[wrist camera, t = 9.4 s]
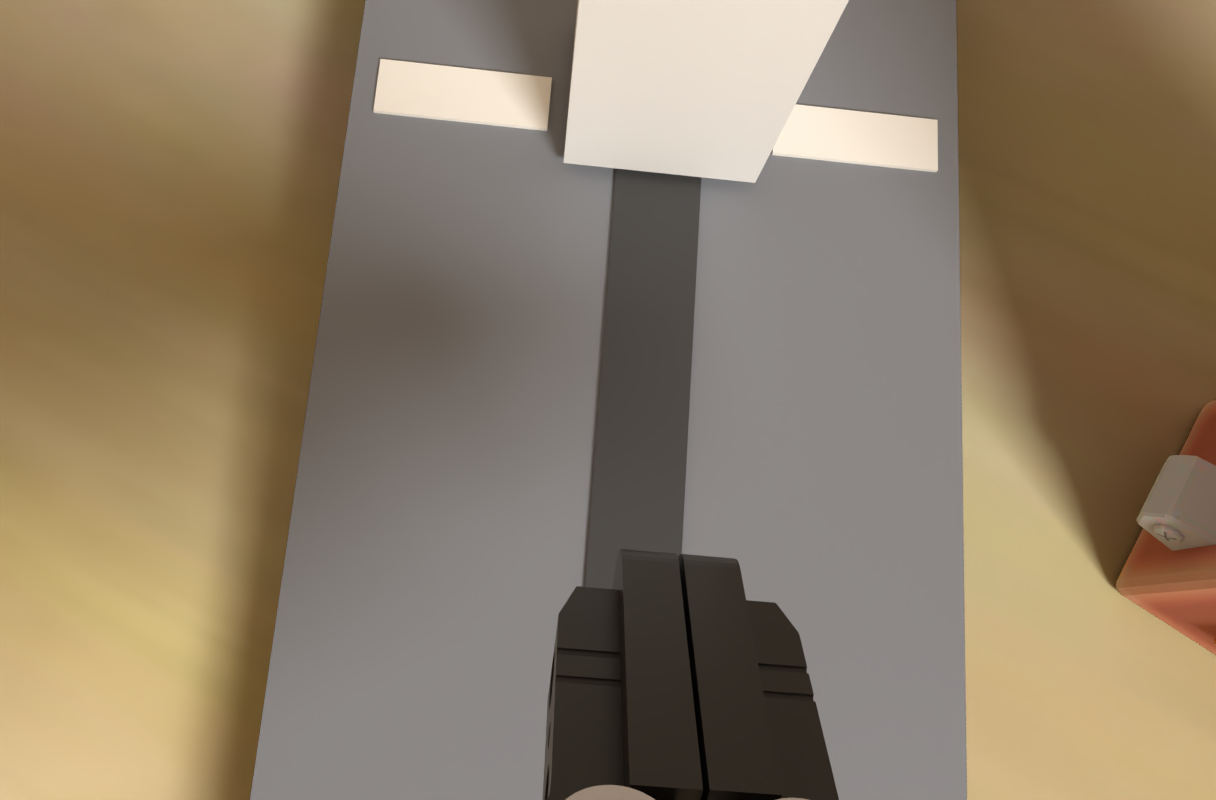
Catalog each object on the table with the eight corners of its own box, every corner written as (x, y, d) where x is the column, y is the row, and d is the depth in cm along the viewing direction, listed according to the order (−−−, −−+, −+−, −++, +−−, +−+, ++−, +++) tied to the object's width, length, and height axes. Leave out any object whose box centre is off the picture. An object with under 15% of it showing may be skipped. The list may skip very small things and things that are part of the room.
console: (907, -121, 27) (955, -215, 24) (907, 996, 21) (973, 1055, 18) (418, -182, 27) (405, -288, 24) (261, 963, 20) (217, 1019, 17)
